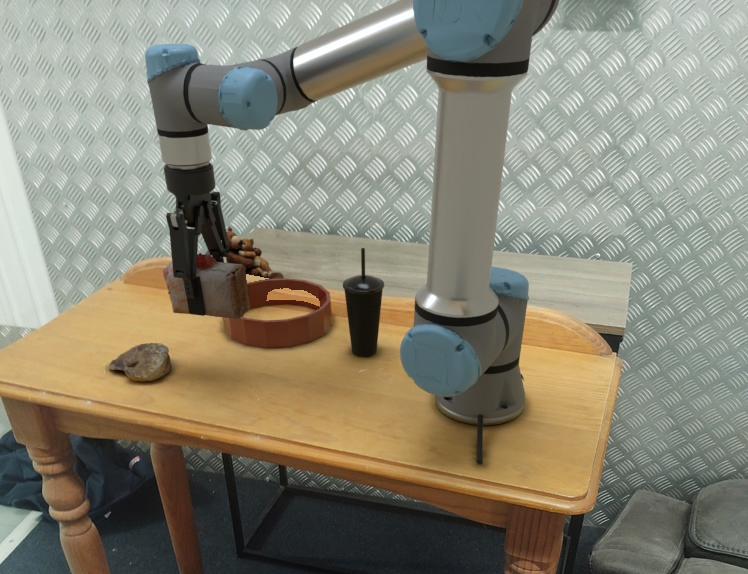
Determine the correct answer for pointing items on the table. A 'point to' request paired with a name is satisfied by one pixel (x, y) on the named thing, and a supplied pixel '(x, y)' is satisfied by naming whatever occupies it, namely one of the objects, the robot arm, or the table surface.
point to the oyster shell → (144, 362)
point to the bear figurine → (248, 257)
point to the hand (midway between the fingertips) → (209, 303)
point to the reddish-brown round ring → (286, 329)
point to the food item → (212, 288)
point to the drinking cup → (363, 310)
